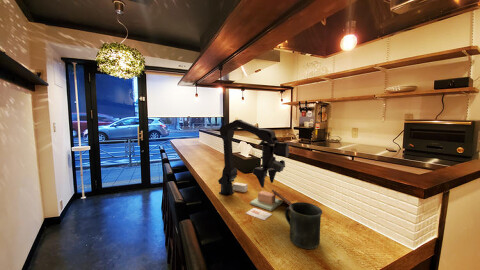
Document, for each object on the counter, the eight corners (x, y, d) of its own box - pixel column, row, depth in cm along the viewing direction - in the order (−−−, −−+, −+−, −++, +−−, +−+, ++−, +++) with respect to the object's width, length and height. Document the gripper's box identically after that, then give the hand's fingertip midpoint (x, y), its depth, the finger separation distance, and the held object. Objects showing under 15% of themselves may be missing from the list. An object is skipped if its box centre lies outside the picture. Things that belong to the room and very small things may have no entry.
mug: (307, 255, 64) (309, 219, 63) (275, 233, 76) (276, 203, 75) (327, 243, 70) (329, 210, 69) (294, 225, 82) (295, 196, 81)
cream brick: (232, 190, 120) (232, 184, 120) (235, 188, 124) (235, 182, 124) (244, 192, 117) (244, 186, 117) (247, 190, 121) (247, 184, 120)
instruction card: (245, 213, 91) (245, 212, 91) (253, 208, 97) (254, 207, 97) (264, 220, 85) (264, 219, 85) (272, 214, 91) (272, 213, 91)
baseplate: (250, 204, 101) (250, 201, 101) (262, 196, 111) (262, 194, 111) (270, 211, 94) (271, 208, 94) (282, 202, 103) (282, 200, 103)
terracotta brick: (257, 200, 103) (258, 192, 103) (261, 197, 106) (262, 190, 106) (271, 204, 98) (271, 196, 98) (275, 201, 101) (275, 194, 101)
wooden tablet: (317, 221, 82) (303, 207, 79) (314, 226, 82) (300, 211, 79) (283, 198, 107) (272, 186, 105) (281, 201, 107) (269, 189, 104)
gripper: (273, 159, 88) (272, 194, 89) (290, 154, 102) (289, 183, 104) (252, 156, 95) (251, 188, 96) (271, 151, 109) (271, 179, 111)
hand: (267, 185), depth 101 cm, fingers open, 9 cm apart
